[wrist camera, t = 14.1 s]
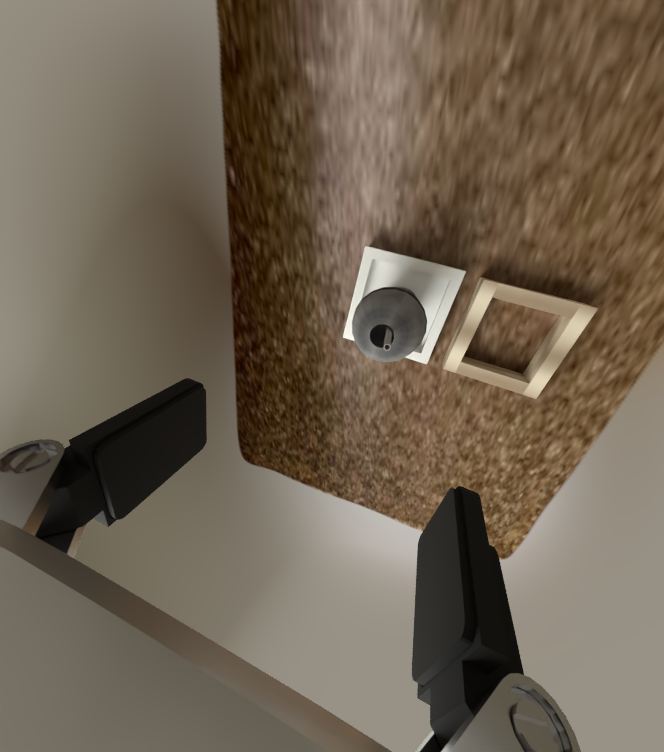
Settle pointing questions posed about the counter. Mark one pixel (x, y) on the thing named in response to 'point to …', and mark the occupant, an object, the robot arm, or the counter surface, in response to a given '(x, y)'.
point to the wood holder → (547, 355)
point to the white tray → (421, 277)
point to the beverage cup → (389, 324)
